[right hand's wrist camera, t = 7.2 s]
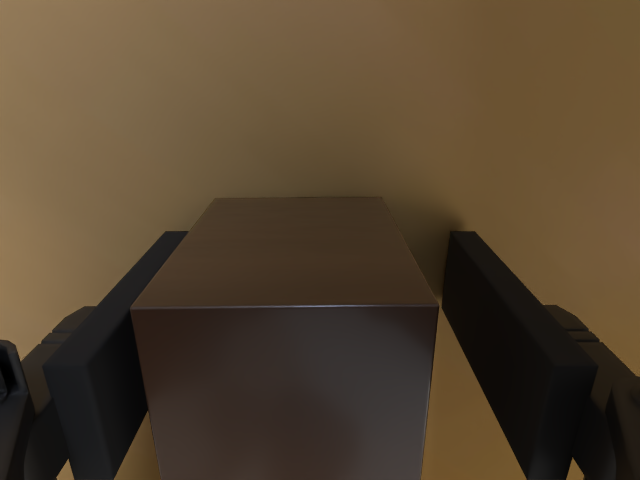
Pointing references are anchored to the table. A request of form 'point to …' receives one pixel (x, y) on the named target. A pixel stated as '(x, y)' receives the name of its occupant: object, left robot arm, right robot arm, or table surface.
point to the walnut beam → (288, 344)
